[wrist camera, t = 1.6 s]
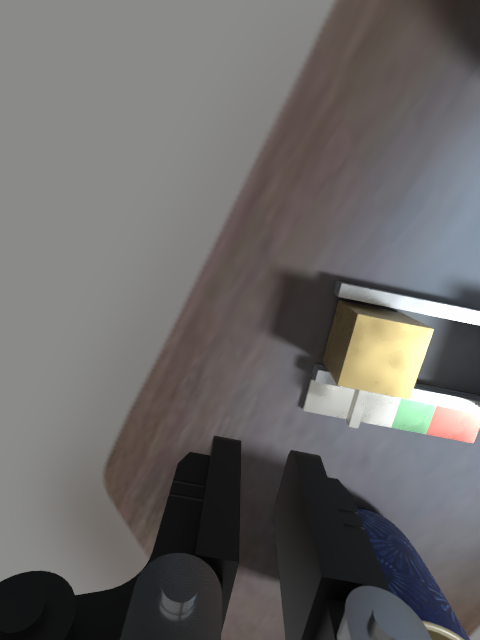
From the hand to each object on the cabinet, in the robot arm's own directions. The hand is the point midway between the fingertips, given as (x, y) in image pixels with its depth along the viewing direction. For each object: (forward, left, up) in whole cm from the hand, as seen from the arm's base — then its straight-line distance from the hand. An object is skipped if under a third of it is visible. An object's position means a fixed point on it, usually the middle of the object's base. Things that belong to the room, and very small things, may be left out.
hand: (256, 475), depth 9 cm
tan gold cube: (+2, +9, -19) cm, 21 cm away
